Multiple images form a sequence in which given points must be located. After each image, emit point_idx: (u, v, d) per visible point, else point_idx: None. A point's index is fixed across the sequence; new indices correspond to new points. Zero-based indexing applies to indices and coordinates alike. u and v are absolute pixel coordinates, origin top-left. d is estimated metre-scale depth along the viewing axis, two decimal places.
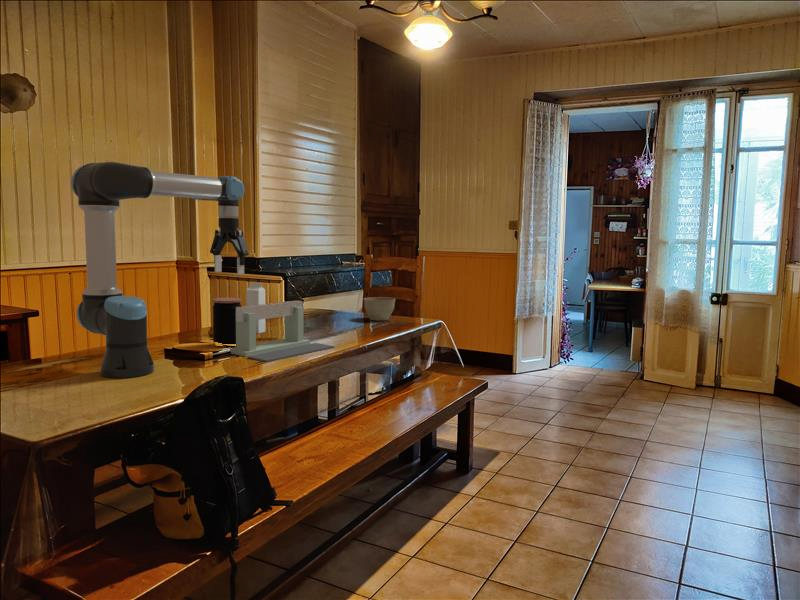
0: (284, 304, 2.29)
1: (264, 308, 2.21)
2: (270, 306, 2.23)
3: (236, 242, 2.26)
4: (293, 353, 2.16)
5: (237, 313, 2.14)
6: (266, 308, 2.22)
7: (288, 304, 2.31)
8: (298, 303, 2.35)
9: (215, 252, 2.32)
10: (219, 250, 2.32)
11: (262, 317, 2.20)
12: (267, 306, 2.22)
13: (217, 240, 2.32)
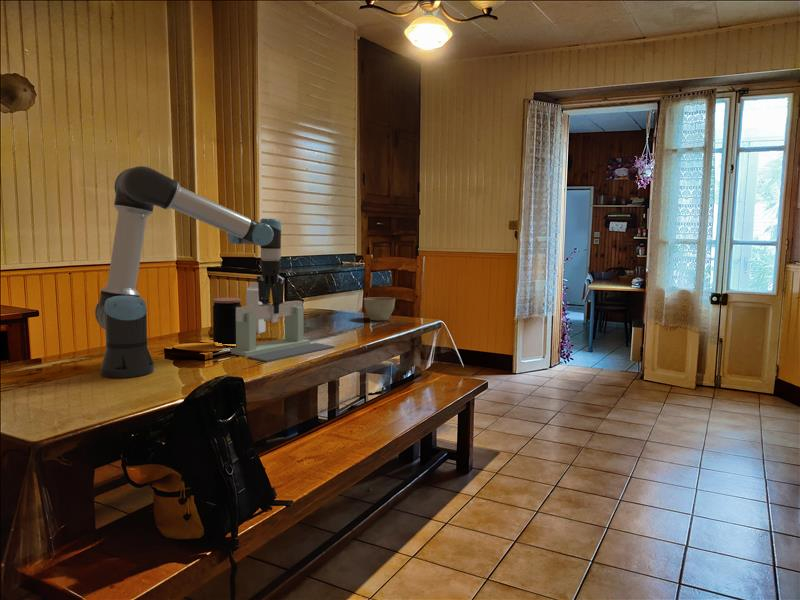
0: (284, 304, 2.29)
1: (264, 308, 2.21)
2: (270, 306, 2.23)
3: (275, 288, 2.23)
4: (293, 353, 2.16)
5: (237, 313, 2.14)
6: (266, 308, 2.22)
7: (288, 304, 2.31)
8: (298, 303, 2.35)
9: (264, 300, 2.26)
10: (267, 297, 2.27)
11: (262, 317, 2.20)
12: (267, 306, 2.22)
13: (262, 286, 2.27)
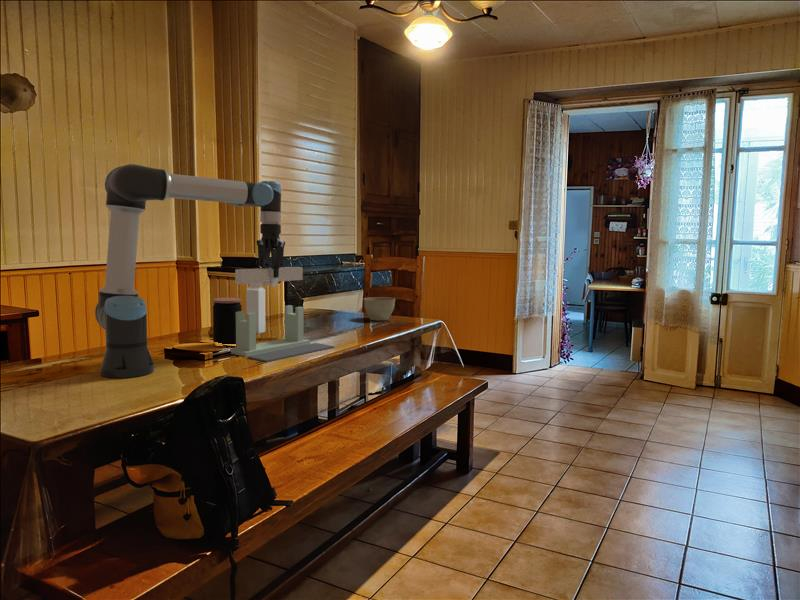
0: (284, 269, 2.27)
1: (264, 271, 2.19)
2: (270, 270, 2.22)
3: (275, 252, 2.22)
4: (293, 353, 2.16)
5: (237, 275, 2.13)
6: (266, 272, 2.20)
7: (288, 269, 2.29)
8: (298, 269, 2.33)
9: (263, 264, 2.24)
10: (267, 261, 2.25)
11: (261, 280, 2.19)
12: (267, 270, 2.20)
13: (261, 250, 2.26)
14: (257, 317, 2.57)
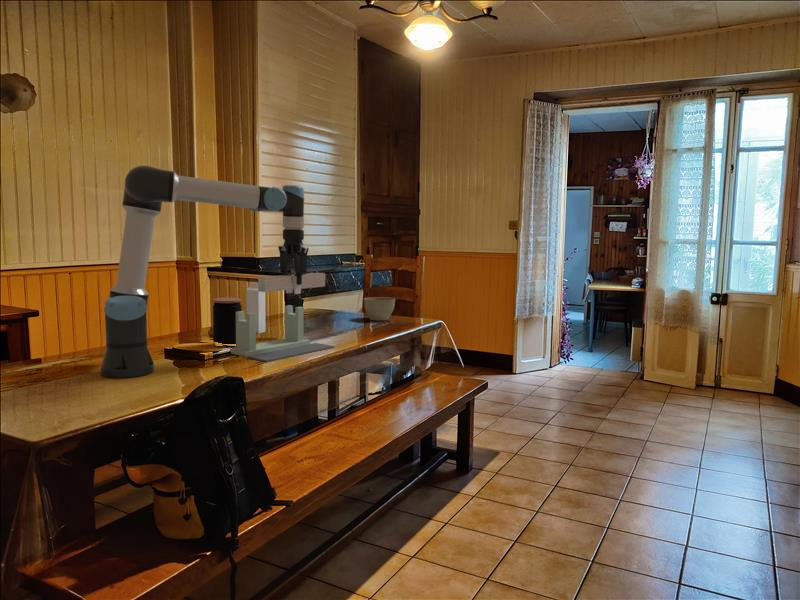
0: (307, 275, 2.21)
1: (287, 279, 2.13)
2: (293, 277, 2.15)
3: (298, 258, 2.15)
4: (293, 353, 2.16)
5: (260, 283, 2.06)
6: (289, 279, 2.13)
7: (311, 276, 2.22)
8: (321, 275, 2.27)
9: (286, 270, 2.18)
10: (289, 267, 2.18)
11: (284, 287, 2.12)
12: (290, 277, 2.14)
13: (284, 256, 2.19)
14: (257, 317, 2.57)
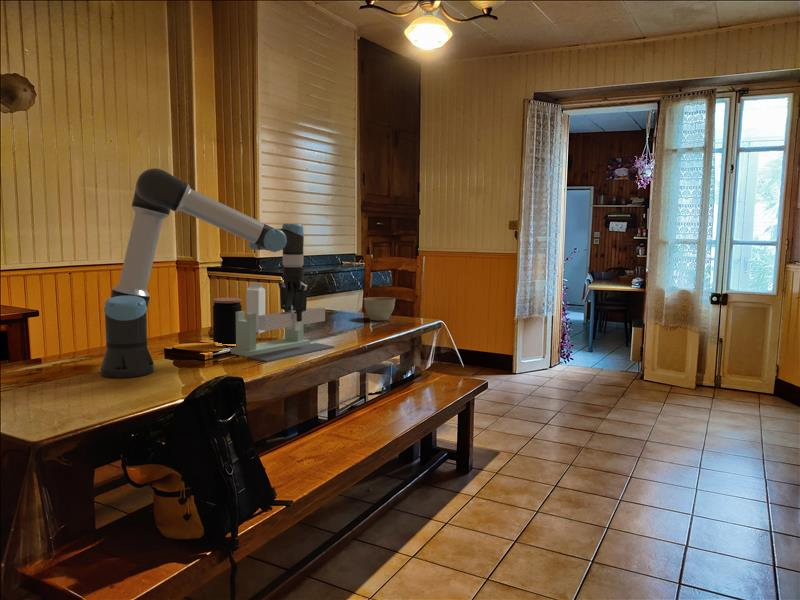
0: (307, 311, 2.22)
1: (287, 316, 2.14)
2: (293, 314, 2.17)
3: (298, 295, 2.17)
4: (293, 353, 2.16)
5: (260, 321, 2.08)
6: (289, 316, 2.15)
7: (311, 311, 2.24)
8: (321, 310, 2.28)
9: (286, 307, 2.19)
10: (289, 304, 2.20)
11: (284, 325, 2.14)
12: (290, 314, 2.15)
13: (284, 293, 2.21)
14: (257, 317, 2.57)
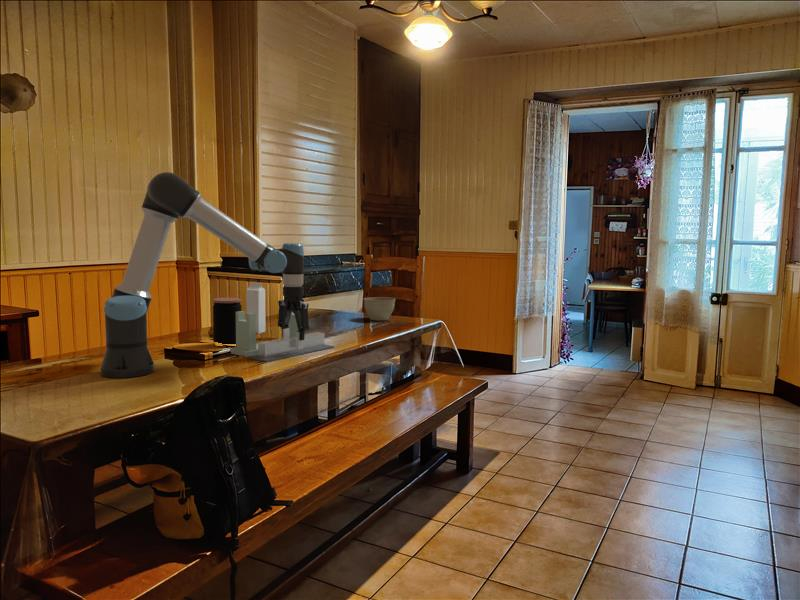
0: (306, 337, 2.23)
1: (286, 342, 2.15)
2: (292, 340, 2.18)
3: (299, 314, 2.17)
4: (293, 353, 2.16)
5: (260, 349, 2.09)
6: (288, 342, 2.16)
7: (310, 337, 2.25)
8: (320, 335, 2.29)
9: (283, 325, 2.21)
10: (287, 322, 2.21)
11: (284, 351, 2.15)
12: (289, 340, 2.16)
13: (282, 311, 2.22)
14: (257, 317, 2.57)
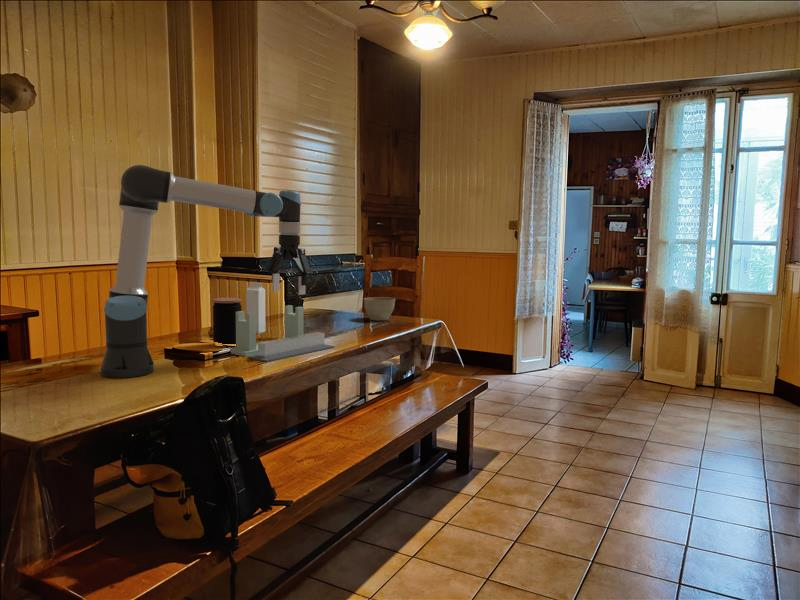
0: (306, 337, 2.23)
1: (286, 342, 2.15)
2: (292, 340, 2.18)
3: (297, 260, 2.13)
4: (293, 353, 2.16)
5: (260, 349, 2.09)
6: (288, 342, 2.16)
7: (310, 337, 2.25)
8: (320, 335, 2.29)
9: (273, 270, 2.19)
10: (278, 268, 2.20)
11: (284, 351, 2.15)
12: (289, 340, 2.16)
13: (276, 258, 2.19)
14: (257, 317, 2.57)
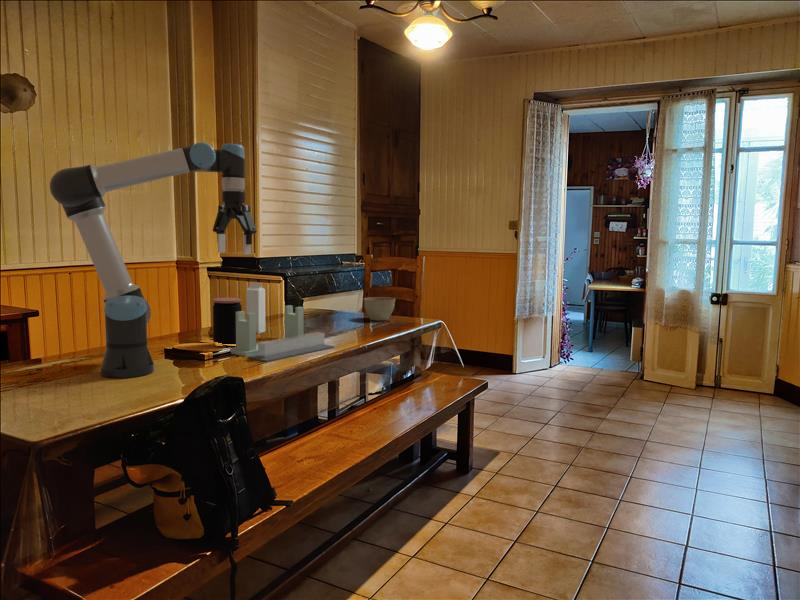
0: (306, 337, 2.23)
1: (286, 342, 2.15)
2: (292, 340, 2.18)
3: (242, 218, 2.01)
4: (293, 353, 2.16)
5: (260, 349, 2.09)
6: (288, 342, 2.16)
7: (310, 337, 2.25)
8: (320, 335, 2.29)
9: (218, 230, 2.07)
10: (223, 228, 2.07)
11: (284, 351, 2.15)
12: (289, 340, 2.16)
13: (221, 217, 2.07)
14: (257, 317, 2.57)
